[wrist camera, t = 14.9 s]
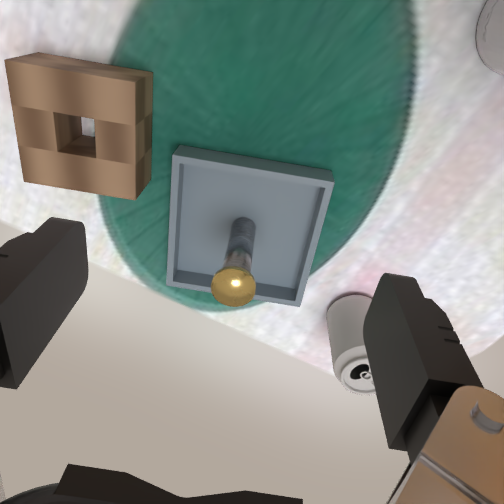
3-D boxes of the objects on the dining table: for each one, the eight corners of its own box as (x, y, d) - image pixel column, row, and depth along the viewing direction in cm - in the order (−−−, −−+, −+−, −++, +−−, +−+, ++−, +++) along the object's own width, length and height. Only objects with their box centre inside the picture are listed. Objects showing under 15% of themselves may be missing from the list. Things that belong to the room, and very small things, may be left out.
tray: (331, 170, 47) (334, 182, 44) (299, 290, 56) (299, 306, 53) (179, 144, 46) (172, 154, 43) (172, 270, 56) (166, 285, 53)
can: (344, 282, 55) (358, 347, 45) (391, 304, 56) (414, 371, 46) (316, 319, 59) (322, 387, 48) (360, 338, 60) (375, 408, 50)
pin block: (153, 72, 42) (135, 82, 37) (151, 179, 49) (135, 200, 44) (38, 52, 42) (4, 59, 37) (51, 162, 48) (23, 181, 43)
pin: (264, 215, 49) (258, 274, 39) (258, 245, 52) (251, 309, 41) (228, 209, 49) (213, 267, 39) (224, 240, 52) (208, 302, 41)
